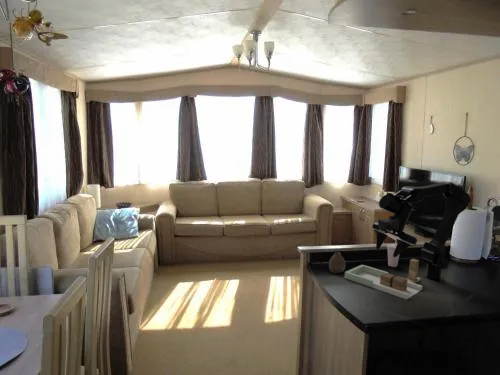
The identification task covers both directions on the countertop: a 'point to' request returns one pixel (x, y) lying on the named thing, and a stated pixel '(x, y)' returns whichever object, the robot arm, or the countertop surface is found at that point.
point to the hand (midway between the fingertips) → (385, 252)
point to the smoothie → (392, 260)
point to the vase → (337, 263)
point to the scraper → (413, 271)
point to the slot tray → (372, 279)
